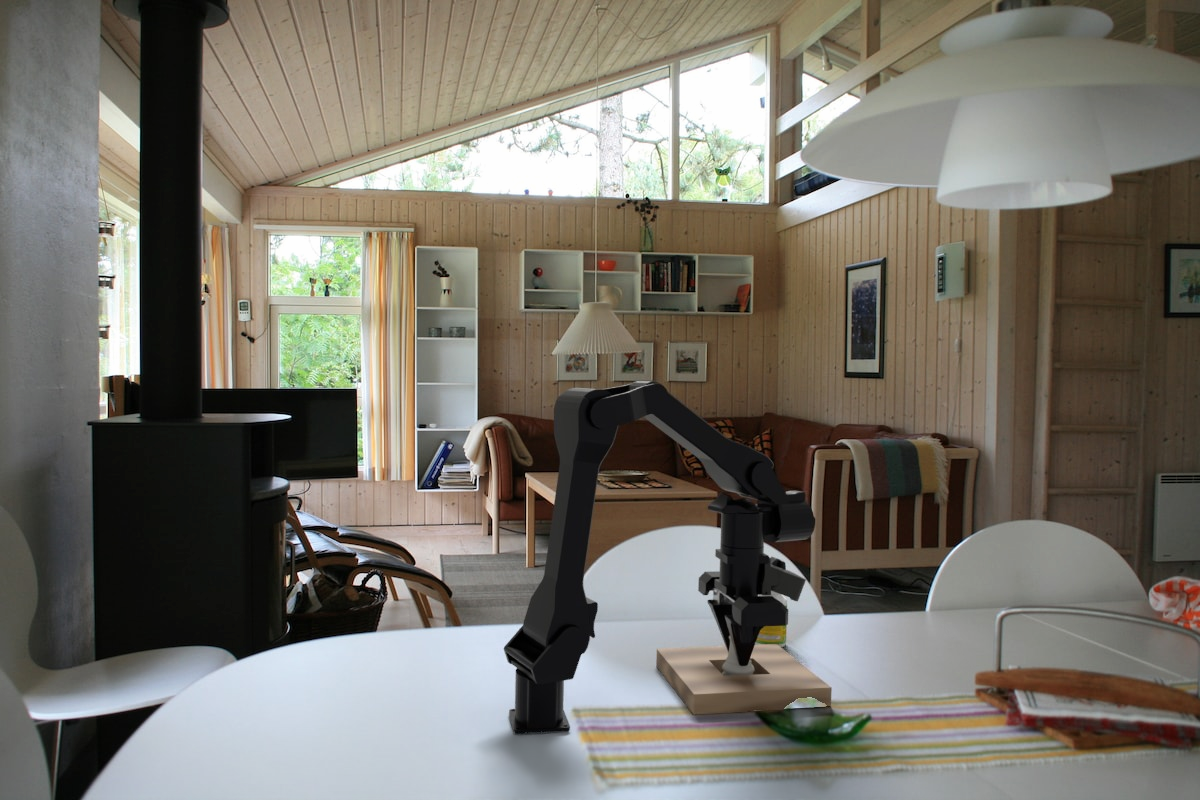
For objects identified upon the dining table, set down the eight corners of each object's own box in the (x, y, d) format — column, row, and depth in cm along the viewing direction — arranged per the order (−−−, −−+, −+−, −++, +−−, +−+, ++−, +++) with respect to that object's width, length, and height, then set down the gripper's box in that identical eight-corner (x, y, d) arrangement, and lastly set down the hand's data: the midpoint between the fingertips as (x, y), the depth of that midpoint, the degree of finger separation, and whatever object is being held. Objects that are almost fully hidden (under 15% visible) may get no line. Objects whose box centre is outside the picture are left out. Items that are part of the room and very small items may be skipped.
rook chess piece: (754, 686, 117) (756, 625, 117) (720, 682, 118) (721, 622, 117) (755, 675, 121) (757, 616, 121) (722, 672, 122) (724, 613, 122)
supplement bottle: (789, 649, 136) (791, 586, 135) (753, 648, 136) (755, 585, 135) (782, 639, 141) (784, 578, 141) (748, 638, 141) (750, 577, 141)
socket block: (831, 707, 112) (831, 687, 112) (693, 714, 109) (694, 694, 109) (776, 660, 130) (776, 643, 130) (656, 666, 127) (656, 648, 127)
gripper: (829, 558, 111) (825, 682, 112) (772, 531, 130) (769, 638, 130) (744, 560, 109) (740, 686, 110) (698, 532, 127) (695, 640, 128)
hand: (738, 660), depth 119 cm, fingers closed on rook chess piece, 3 cm apart
